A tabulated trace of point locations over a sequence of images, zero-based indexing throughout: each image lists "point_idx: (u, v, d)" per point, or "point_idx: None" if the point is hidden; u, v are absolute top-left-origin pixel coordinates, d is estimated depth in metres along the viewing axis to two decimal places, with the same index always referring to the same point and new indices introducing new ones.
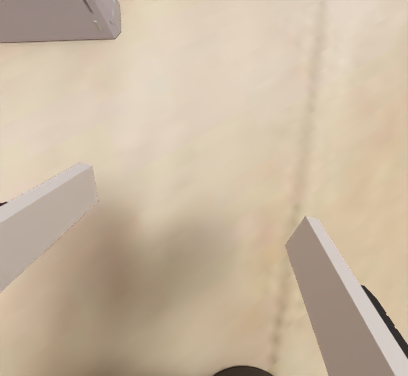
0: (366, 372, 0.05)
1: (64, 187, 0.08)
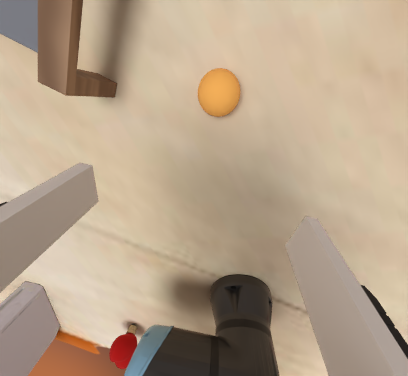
0: (366, 372, 0.05)
1: (64, 187, 0.08)
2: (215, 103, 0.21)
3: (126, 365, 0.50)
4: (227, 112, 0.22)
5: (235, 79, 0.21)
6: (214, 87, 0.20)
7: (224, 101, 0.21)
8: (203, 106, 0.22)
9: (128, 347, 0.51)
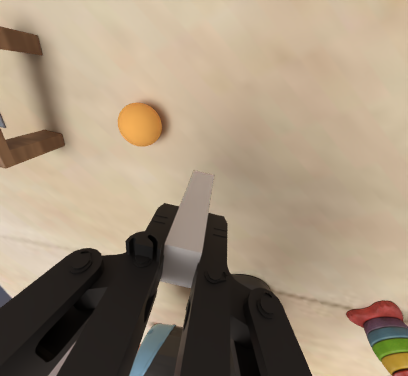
0: None
1: (199, 191, 0.10)
2: (133, 139, 0.22)
3: None
4: (152, 141, 0.23)
5: (145, 111, 0.21)
6: (126, 126, 0.21)
7: (140, 135, 0.21)
8: (128, 141, 0.23)
9: None
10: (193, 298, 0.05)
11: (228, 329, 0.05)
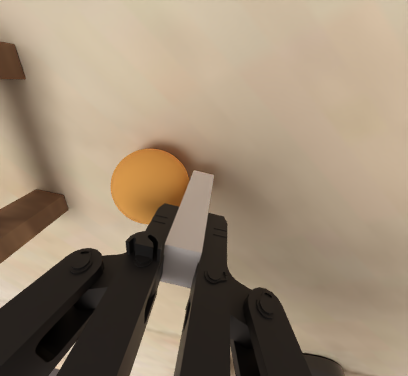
0: None
1: (199, 191, 0.10)
2: None
3: None
4: (136, 220, 0.12)
5: (134, 165, 0.10)
6: None
7: (114, 200, 0.11)
8: None
9: None
10: (193, 298, 0.05)
11: (228, 329, 0.05)
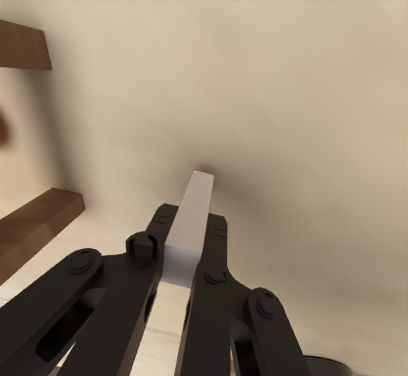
0: None
1: (199, 191, 0.10)
2: None
3: None
4: None
5: None
6: None
7: None
8: None
9: None
10: (193, 298, 0.05)
11: (228, 329, 0.05)
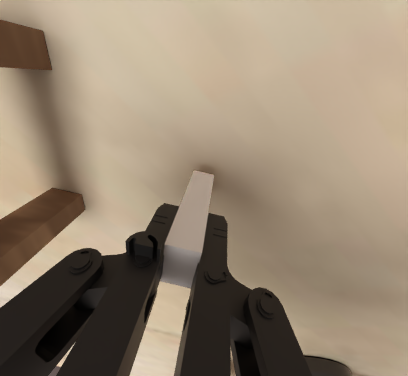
0: None
1: (199, 191, 0.10)
2: None
3: None
4: None
5: None
6: None
7: None
8: None
9: None
10: (193, 298, 0.05)
11: (228, 329, 0.05)
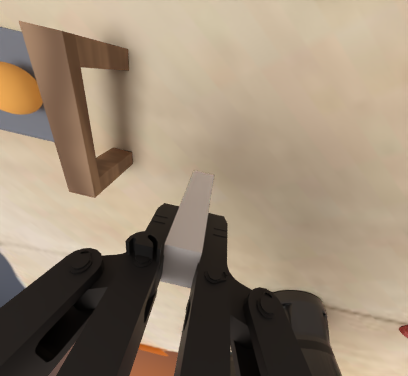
0: None
1: (199, 191, 0.10)
2: None
3: None
4: None
5: None
6: None
7: None
8: (36, 110, 0.23)
9: None
10: (193, 298, 0.05)
11: (228, 329, 0.05)
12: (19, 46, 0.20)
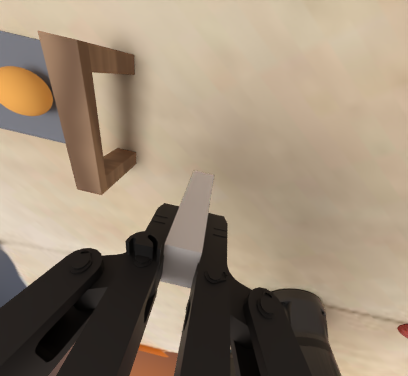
0: None
1: (199, 191, 0.10)
2: None
3: None
4: None
5: None
6: (50, 91, 0.23)
7: None
8: None
9: None
10: (193, 298, 0.05)
11: (228, 329, 0.05)
12: (31, 52, 0.22)
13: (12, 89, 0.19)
